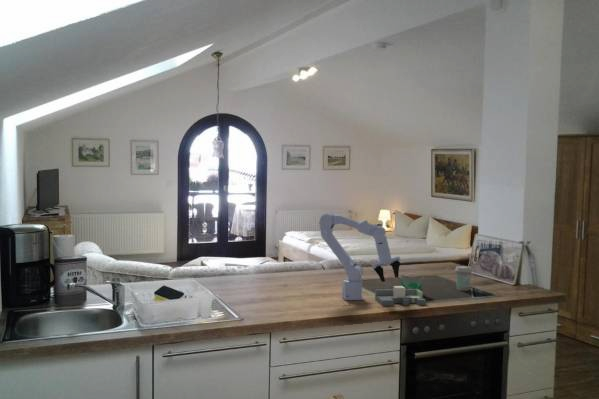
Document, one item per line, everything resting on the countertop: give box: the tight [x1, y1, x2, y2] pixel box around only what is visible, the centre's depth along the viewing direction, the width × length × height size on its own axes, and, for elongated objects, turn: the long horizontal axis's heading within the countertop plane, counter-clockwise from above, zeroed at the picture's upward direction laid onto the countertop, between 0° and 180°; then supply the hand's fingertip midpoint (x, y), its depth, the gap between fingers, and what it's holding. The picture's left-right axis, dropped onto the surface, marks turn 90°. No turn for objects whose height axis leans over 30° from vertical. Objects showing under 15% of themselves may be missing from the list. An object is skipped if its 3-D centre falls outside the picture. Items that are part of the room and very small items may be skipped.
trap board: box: [374, 288, 427, 307], centre depth 264 cm, size 21×11×5 cm, turn 98°
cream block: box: [392, 285, 405, 298], centre depth 266 cm, size 4×4×4 cm
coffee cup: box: [454, 265, 473, 292], centre depth 294 cm, size 8×9×12 cm
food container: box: [399, 274, 425, 292], centre depth 278 cm, size 12×6×10 cm, turn 101°
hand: (390, 279), depth 265 cm, fingers open, 7 cm apart
